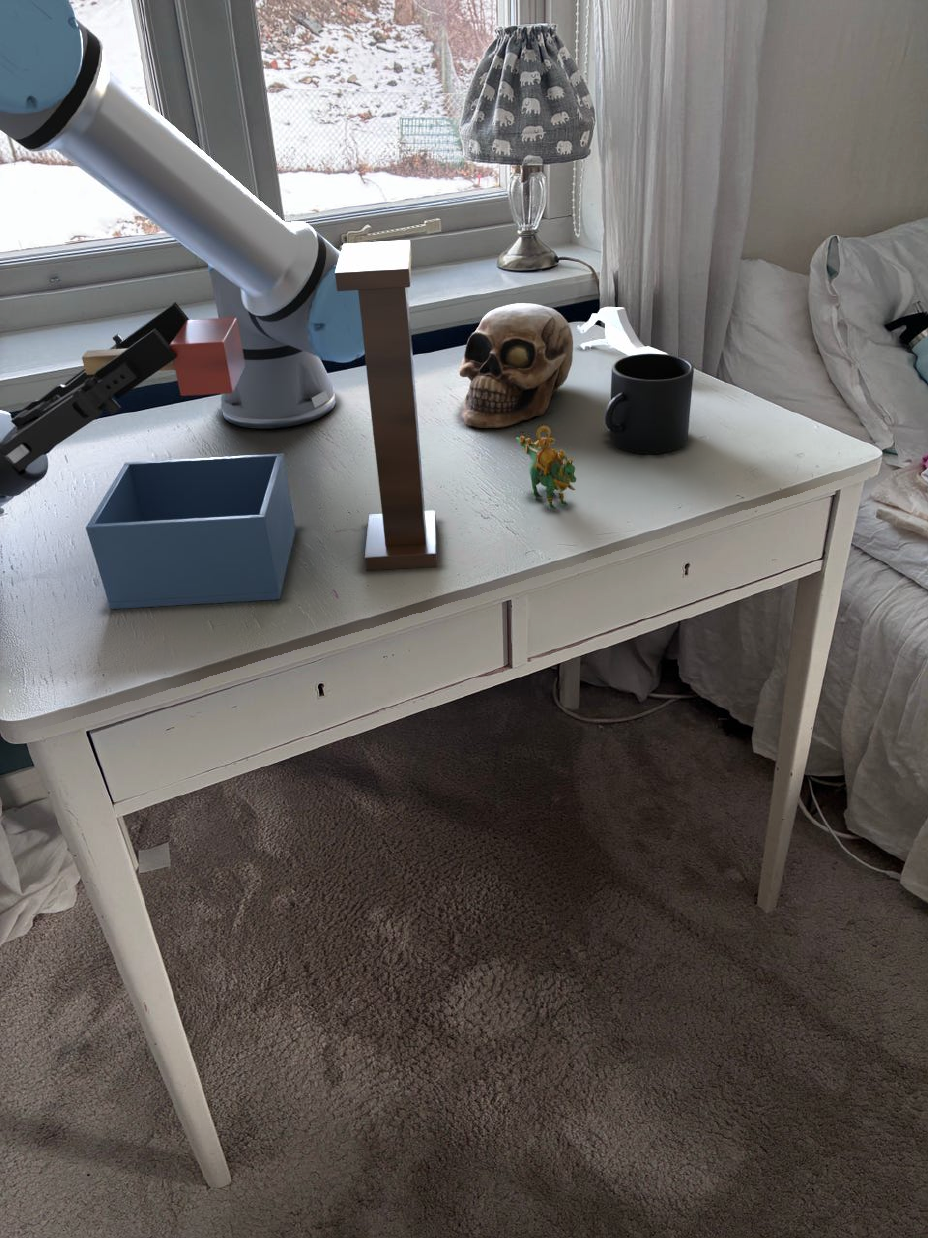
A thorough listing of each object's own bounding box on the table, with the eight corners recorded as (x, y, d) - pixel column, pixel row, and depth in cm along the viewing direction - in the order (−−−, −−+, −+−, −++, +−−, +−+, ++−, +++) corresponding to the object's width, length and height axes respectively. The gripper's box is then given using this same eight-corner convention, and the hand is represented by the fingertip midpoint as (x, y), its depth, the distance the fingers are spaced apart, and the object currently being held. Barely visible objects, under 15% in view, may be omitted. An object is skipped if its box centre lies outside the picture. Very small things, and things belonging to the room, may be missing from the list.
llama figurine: (589, 392, 146) (664, 378, 130) (573, 316, 143) (648, 293, 127) (599, 389, 147) (675, 375, 131) (583, 314, 144) (659, 291, 128)
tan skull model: (464, 430, 120) (462, 320, 114) (454, 394, 136) (452, 296, 129) (587, 425, 121) (591, 316, 115) (563, 390, 137) (566, 293, 130)
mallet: (104, 373, 88) (91, 324, 85) (245, 365, 88) (236, 316, 85) (81, 401, 82) (67, 350, 79) (232, 393, 82) (223, 341, 80)
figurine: (561, 522, 100) (562, 450, 95) (505, 479, 109) (504, 411, 104) (586, 515, 101) (588, 443, 96) (529, 473, 110) (528, 405, 105)
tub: (145, 538, 101) (125, 462, 96) (295, 529, 101) (283, 452, 96) (110, 609, 90) (85, 527, 85) (279, 599, 90) (264, 516, 85)
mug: (577, 443, 116) (578, 371, 111) (647, 417, 122) (651, 347, 117) (632, 468, 110) (637, 393, 104) (704, 439, 115) (711, 366, 110)
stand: (370, 524, 101) (337, 243, 85) (435, 520, 101) (415, 239, 85) (365, 573, 93) (328, 273, 77) (437, 569, 93) (414, 268, 77)
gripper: (52, 451, 99) (224, 329, 92) (-22, 546, 82) (180, 406, 76) (-4, 392, 95) (170, 262, 89) (-94, 480, 79) (113, 327, 72)
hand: (175, 329), depth 82 cm, fingers closed on mallet, 7 cm apart
